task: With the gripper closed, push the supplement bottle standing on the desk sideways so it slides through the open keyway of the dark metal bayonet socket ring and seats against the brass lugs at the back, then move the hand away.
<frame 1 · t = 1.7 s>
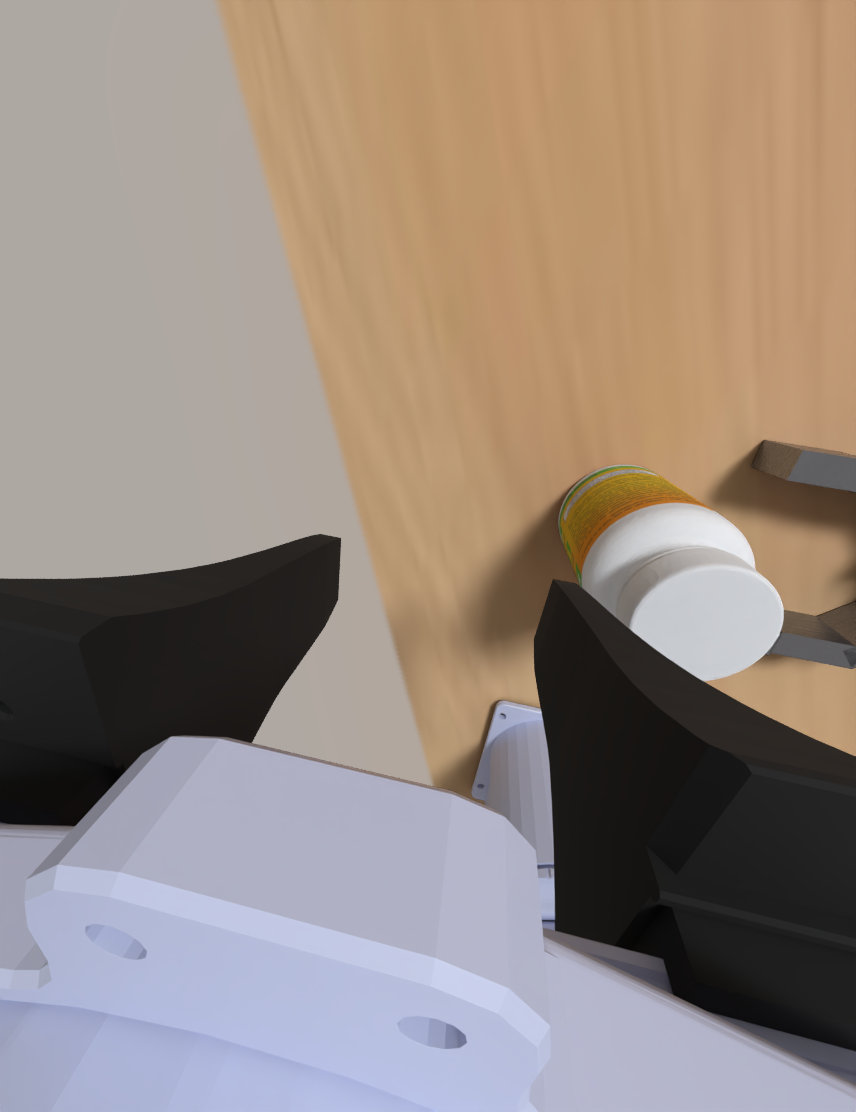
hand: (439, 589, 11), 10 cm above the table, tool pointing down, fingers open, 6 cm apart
socket: (824, 554, 19), on the table
supplement bottle: (611, 515, 20), on the table
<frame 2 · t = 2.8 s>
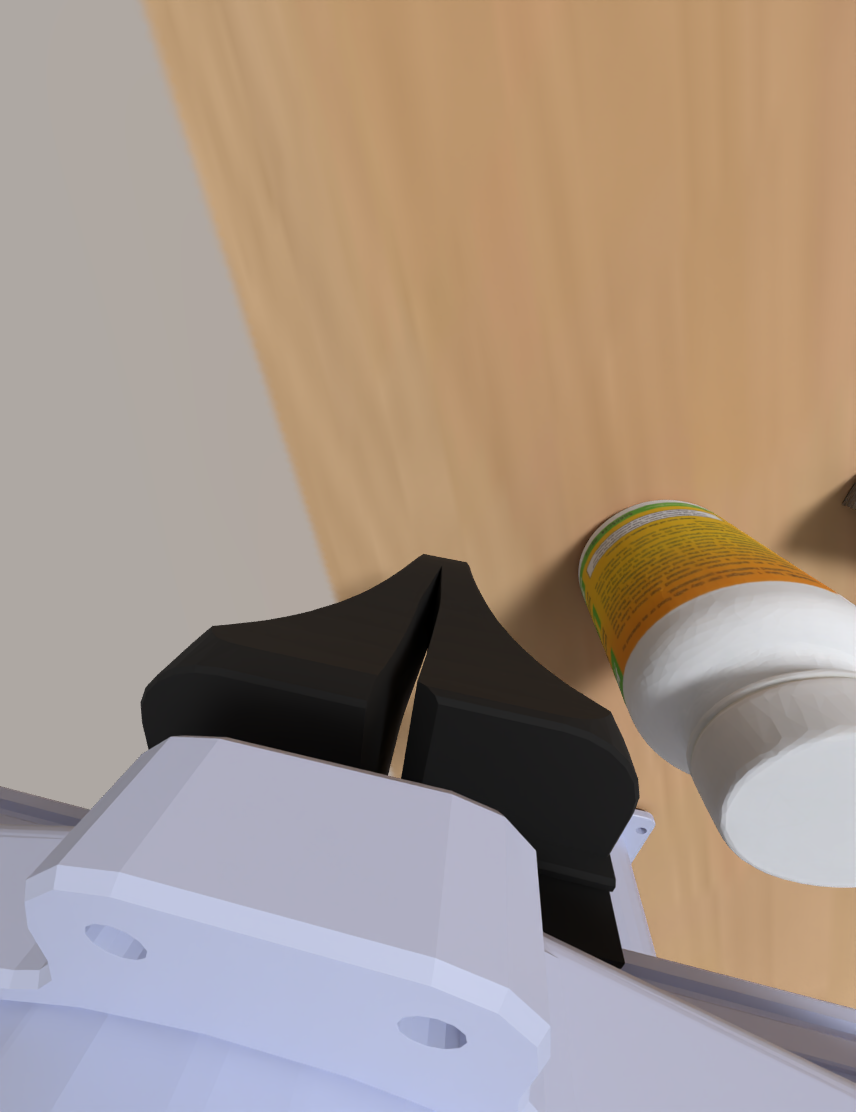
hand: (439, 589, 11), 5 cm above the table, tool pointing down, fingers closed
supplement bottle: (648, 562, 15), on the table
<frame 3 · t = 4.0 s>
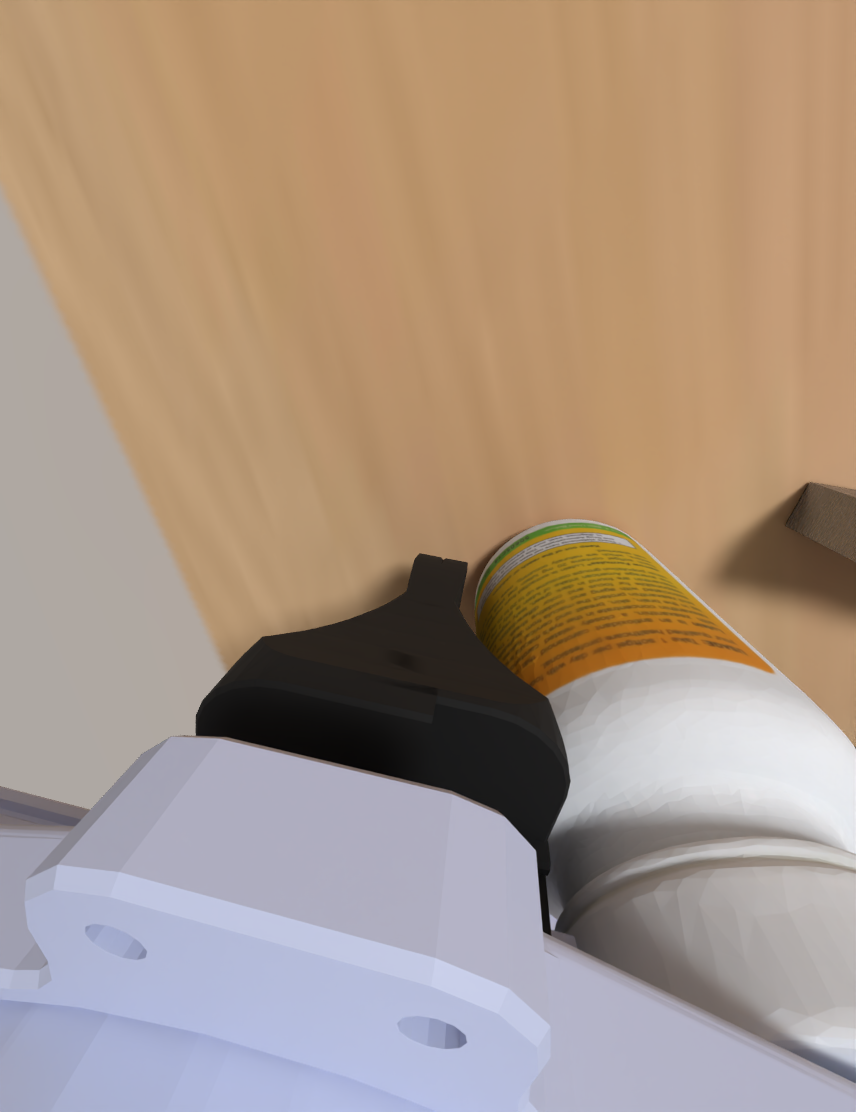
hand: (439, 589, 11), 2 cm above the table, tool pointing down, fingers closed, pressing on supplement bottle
supplement bottle: (559, 594, 13), on the table, touching gripper
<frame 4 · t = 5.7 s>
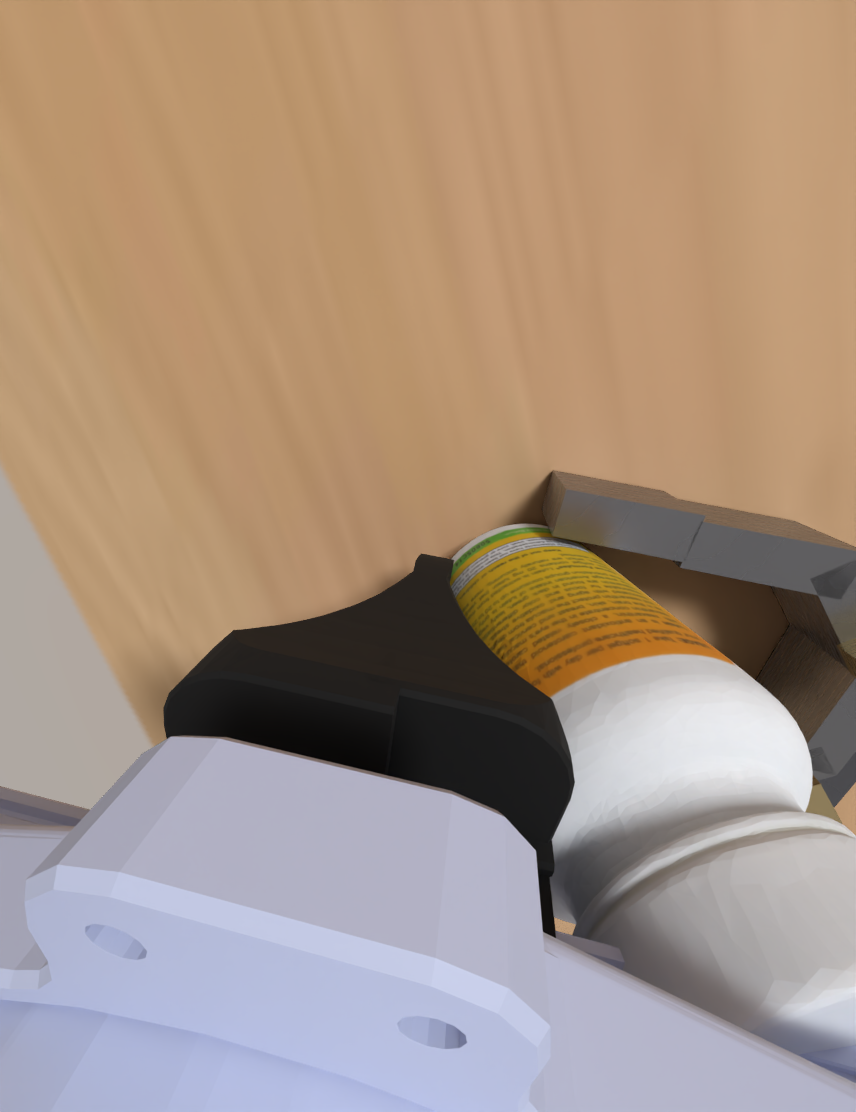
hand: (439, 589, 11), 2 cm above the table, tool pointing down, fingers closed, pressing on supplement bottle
socket: (665, 637, 13), on the table
supplement bottle: (509, 595, 13), on the table, touching gripper
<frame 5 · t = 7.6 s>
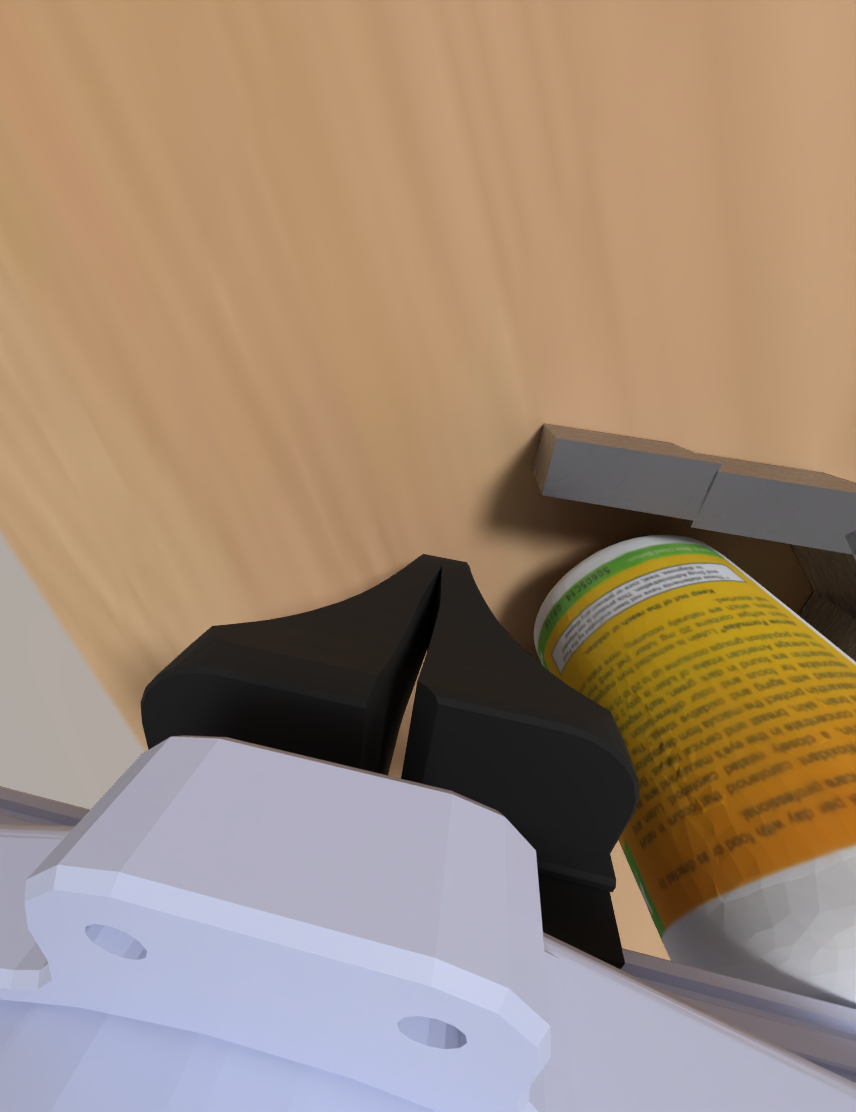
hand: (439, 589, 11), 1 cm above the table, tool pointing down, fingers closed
socket: (673, 609, 12), on the table
supplement bottle: (619, 604, 11), point 1 cm above the table
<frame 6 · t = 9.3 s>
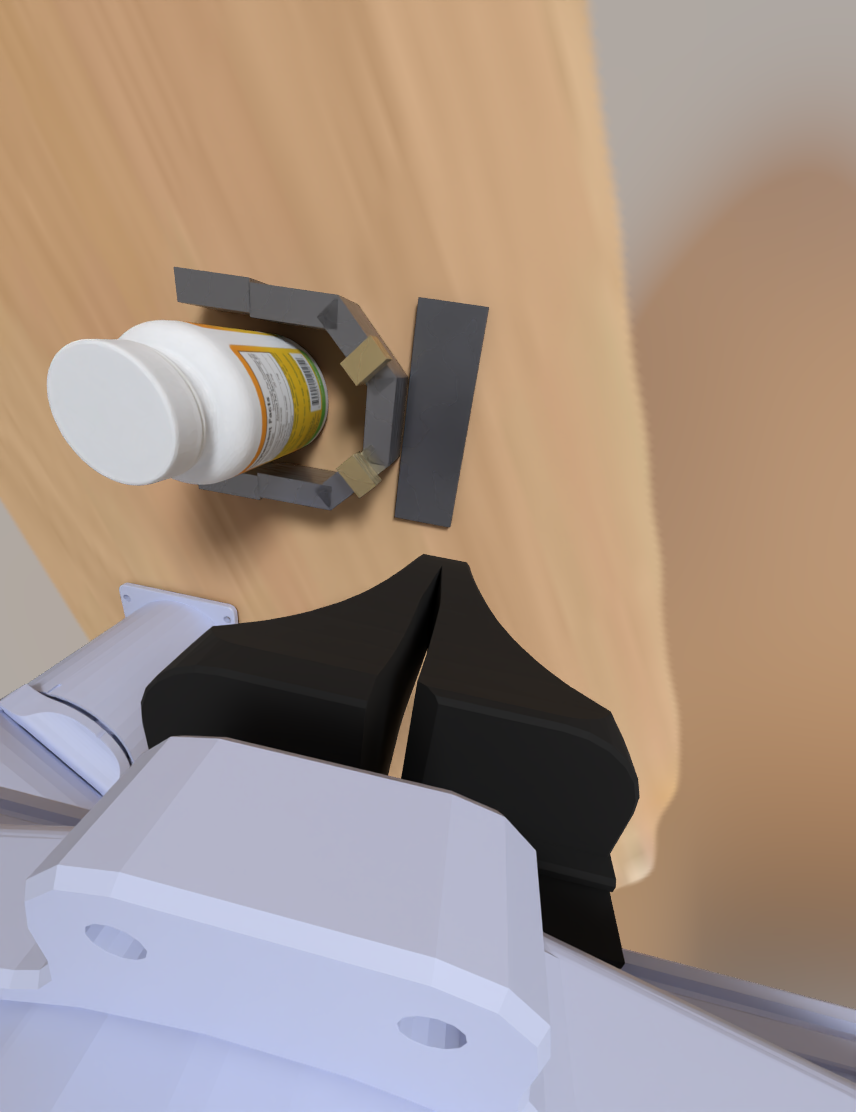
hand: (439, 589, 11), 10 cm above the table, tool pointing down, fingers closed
socket: (316, 403, 20), on the table
supplement bottle: (281, 394, 20), on the table
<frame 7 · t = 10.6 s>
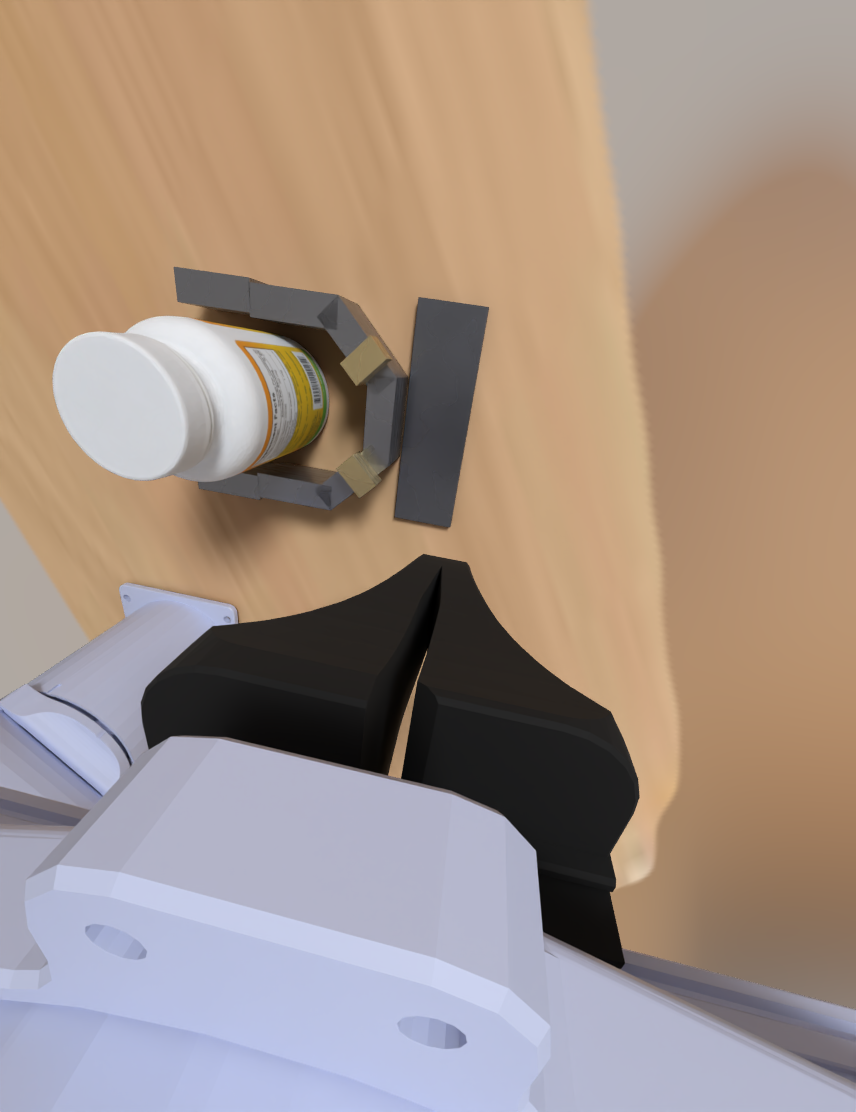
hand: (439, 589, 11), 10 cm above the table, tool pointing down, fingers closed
socket: (316, 403, 20), on the table
supplement bottle: (281, 395, 20), on the table
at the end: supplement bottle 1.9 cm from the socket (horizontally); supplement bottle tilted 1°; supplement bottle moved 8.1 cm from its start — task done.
